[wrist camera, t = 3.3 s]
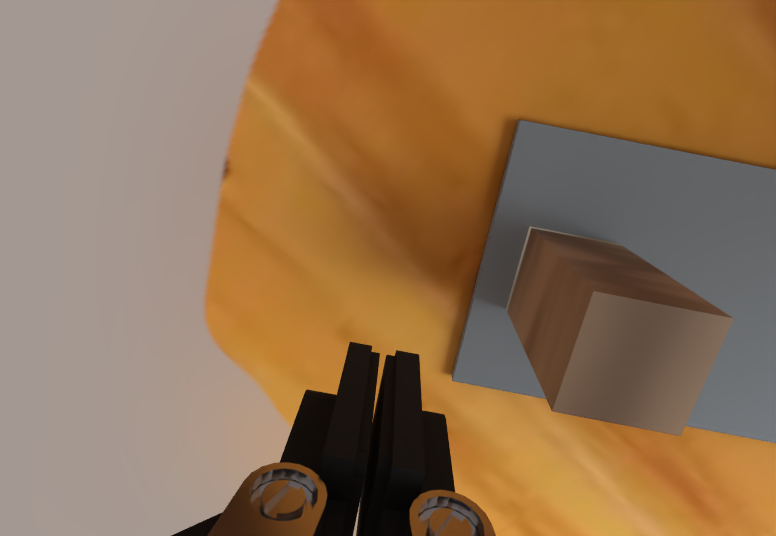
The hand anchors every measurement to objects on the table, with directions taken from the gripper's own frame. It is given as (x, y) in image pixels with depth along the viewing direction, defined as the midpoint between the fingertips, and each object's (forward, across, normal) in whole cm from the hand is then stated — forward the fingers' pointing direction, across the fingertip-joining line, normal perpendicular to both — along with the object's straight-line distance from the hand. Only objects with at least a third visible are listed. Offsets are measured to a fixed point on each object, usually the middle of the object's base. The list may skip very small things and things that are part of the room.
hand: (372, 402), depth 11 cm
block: (+13, -9, 0) cm, 16 cm away
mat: (+14, -16, 0) cm, 21 cm away
